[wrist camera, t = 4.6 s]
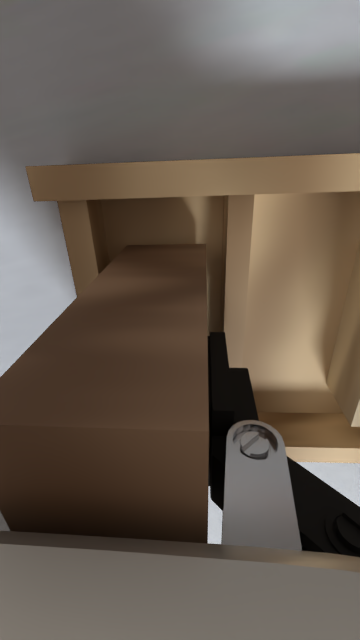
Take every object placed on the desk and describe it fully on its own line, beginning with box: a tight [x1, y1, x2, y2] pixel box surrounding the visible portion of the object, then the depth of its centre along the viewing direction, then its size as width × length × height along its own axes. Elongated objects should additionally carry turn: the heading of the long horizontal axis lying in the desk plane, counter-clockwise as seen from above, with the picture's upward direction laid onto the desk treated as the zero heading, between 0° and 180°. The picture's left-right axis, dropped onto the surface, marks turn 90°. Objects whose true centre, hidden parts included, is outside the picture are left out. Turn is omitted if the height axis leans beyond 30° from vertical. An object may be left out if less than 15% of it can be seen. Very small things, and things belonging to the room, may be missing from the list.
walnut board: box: [0, 244, 209, 543], centre depth 9 cm, size 3×8×9 cm, turn 2°
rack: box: [26, 153, 360, 463], centre depth 13 cm, size 17×13×3 cm
